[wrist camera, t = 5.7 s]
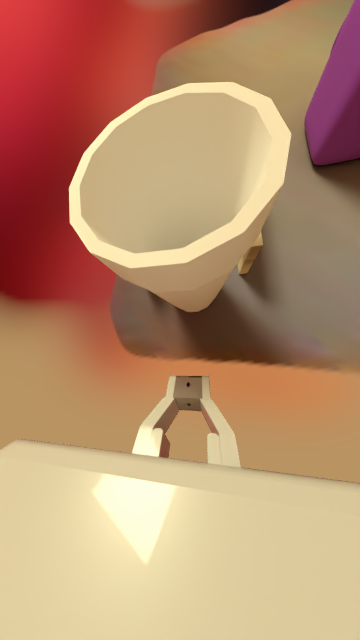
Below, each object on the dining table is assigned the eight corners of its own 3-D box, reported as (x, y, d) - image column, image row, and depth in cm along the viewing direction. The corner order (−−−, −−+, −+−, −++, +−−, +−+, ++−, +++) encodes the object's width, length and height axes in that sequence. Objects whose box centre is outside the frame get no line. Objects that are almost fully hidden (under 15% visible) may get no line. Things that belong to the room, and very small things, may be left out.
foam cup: (147, 286, 20) (42, 182, 7) (197, 245, 19) (181, 59, 7) (187, 338, 17) (135, 320, 5) (245, 292, 17) (360, 137, 4)
